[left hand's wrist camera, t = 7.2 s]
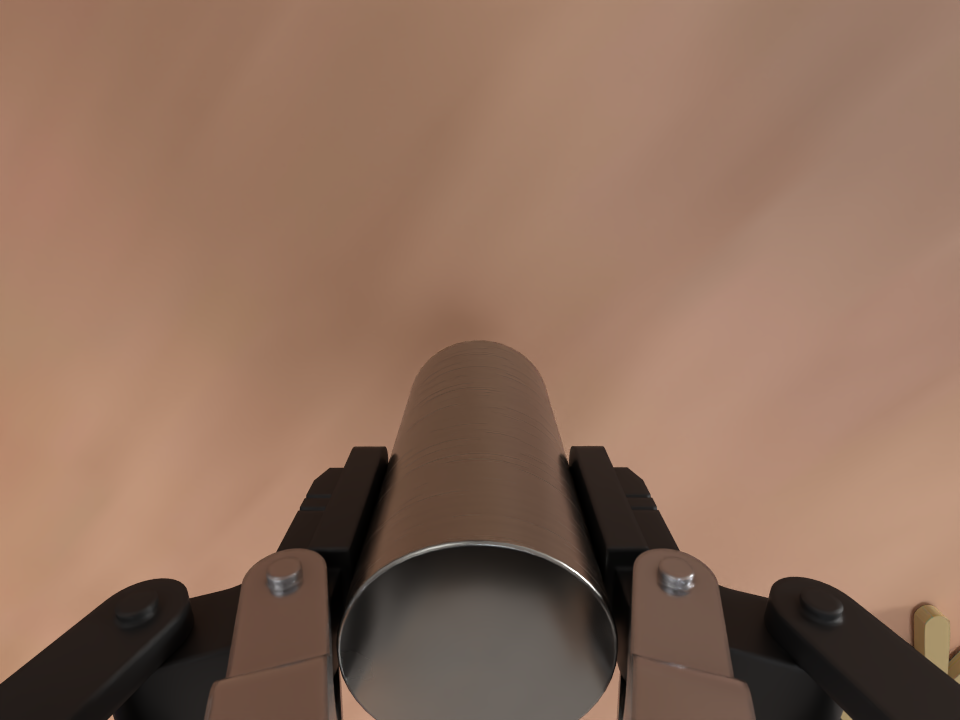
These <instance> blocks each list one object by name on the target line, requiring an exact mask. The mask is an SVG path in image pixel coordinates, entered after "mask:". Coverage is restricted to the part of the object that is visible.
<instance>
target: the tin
mask: <svg viewBox="0 0 960 720" xmlns="http://www.w3.org/2000/svg"><path fill="white" fill-rule="evenodd" d="M336 649H337V658H338V664H339V667H340V670H341V674H342V677H343V679H344V681H345V683H346V685H347V687H348V689H349V691H350V692H351V694H352V695H353V696H354V698H355V699H356V701H357V702H358V703H359V704H360V705H361V706H362V707H363V709H364V710H365V711H366V712H367V713H369V714H370V715H371V716H372V717H373V718H374V719H376V720H579V719H580V718H582V717H583V716H584V715H585V714H587V713H588V712H589V711H590V709H591V708H592V707H593V706H594V705H595V704H596V703H597V702H598V701H599V699H600V698H601V696H602V695H603V693H604V692H605V691H606V689H607V687H608V685H609V683H610V681H611V679H612V676H613V673H614V669H615V666H616V662H617V655H618V633H617V628H616V624H615V620H614V616H613V613H612V609H611V606H610V603H609V599H608V596H607V593H606V589H605V586H604V583H603V579H602V576H601V572H600V569H599V566H598V562H597V559H596V556H595V552H594V549H593V545H592V542H591V539H590V535H589V532H588V529H587V525H586V522H585V518H584V515H583V512H582V508H581V505H580V502H579V498H578V495H577V491H576V488H575V485H574V481H573V478H572V475H571V471H570V468H569V464H568V461H567V458H566V454H565V451H564V448H563V444H562V441H561V437H560V434H559V431H558V427H557V424H556V421H555V417H554V414H553V411H552V407H551V404H550V400H549V397H548V394H547V390H546V387H545V384H544V382H543V379H542V377H541V375H540V373H539V372H538V370H537V369H536V368H535V366H534V365H533V364H532V363H531V362H530V361H529V360H528V359H527V358H526V357H525V356H524V355H522V354H521V353H520V352H518V351H516V350H514V349H513V348H511V347H508V346H506V345H503V344H500V343H496V342H491V341H466V342H462V343H458V344H455V345H452V346H449V347H447V348H445V349H443V350H441V351H440V352H438V353H437V354H435V355H434V356H433V357H432V358H431V359H429V360H428V361H427V362H426V363H425V365H424V366H423V367H422V368H421V370H420V371H419V373H418V375H417V376H416V378H415V381H414V383H413V386H412V389H411V392H410V396H409V399H408V402H407V405H406V409H405V412H404V415H403V418H402V421H401V425H400V428H399V431H398V434H397V438H396V441H395V444H394V447H393V450H392V454H391V457H390V460H389V463H388V467H387V470H386V473H385V476H384V479H383V483H382V486H381V489H380V492H379V495H378V499H377V502H376V505H375V508H374V512H373V515H372V518H371V521H370V524H369V528H368V531H367V534H366V537H365V541H364V544H363V547H362V550H361V553H360V557H359V560H358V563H357V566H356V570H355V573H354V576H353V579H352V582H351V586H350V589H349V592H348V595H347V598H346V602H345V605H344V608H343V611H342V615H341V618H340V622H339V626H338V630H337V640H336Z"/></svg>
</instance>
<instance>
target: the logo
mask: <svg viewBox="0 0 960 720" xmlns="http://www.w3.org/2000/svg"><path fill="white" fill-rule="evenodd" d="M949 647H950V622H949V620H948V619H947V618H946V617H945V616H944V615H943V614H942V613H941V612H940V611H939V610H938V609H936V608H935V607H934V606H932V605H924V606H921V607H920V608H919V609H917V610H916V612H915V613H914V648H915V649H916V650H917V651H919V652H920V653H921V654H922V655H924V656H925V657H926V658H927V659H929V660H930V661H931V662H932V663H934V664H935V665H936V666H937V667H939V668H940V669H941V670H942V671H944V672H945V673H946V674H948V675H949V676H950V677H951V678H953V679H954V680H955V681H956V682H958V683H959V684H960V651H959V652H958V653H957V654H956V655H955V656H954V657H953V658H952V659H951V660H950V661H949ZM841 719H842V720H852V719H851V718H850V717H849V716H848V715H847V714H846V712H845V711H844V710H843V713H842V716H841Z"/></svg>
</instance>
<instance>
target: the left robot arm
mask: <svg viewBox="0 0 960 720" xmlns="http://www.w3.org/2000/svg"><path fill="white" fill-rule="evenodd" d="M387 467H388V453H387V448H386V447H353V449H352V451H351V453H350V455H349V457H348V460H347V462H346V464H345V466H344V468H329V469H328V470H327V471H325V472H324V473H323V474H322V475H320V476H319V477H318V478H317V479H315V480H314V482H313V484H312V486H311V487H310V489H309V491H308V493H307V495H306V498H305V499H304V501H303V503H302V504H301V506H300V511H298V512H297V514H296V516H295V518H294V520H293V521H292V523H291V525H290V527H289V529H288V531H287V533H286V535H285V537H284V539H283V540H282V542H281V544H280V546H279V548H278V550H277V552H276V553H273V554H271V555H269V556H267V557H265V558H263V559H262V560H260V561H259V562H257V563H256V564H255V565H254V566H253V567H252V568H251V569H250V570H249V571H248V572H247V573H246V575H245V577H244V579H243V582H242V584H240V585H238V586H235V587H233V588H230V589H226V590H223V591H219V592H215V593H210V594H206V595H202V596H198V597H193V598H189V595H188V591H187V588H186V587H185V586H184V584H182V583H181V582H179V581H177V580H173V579H165V578H160V579H152V580H147V581H143V582H140V583H137V584H134V585H132V586H129V587H127V588H125V589H123V590H121V591H119V592H118V593H116V594H114V595H113V596H111V597H110V598H109V599H107V600H106V601H105V602H103V603H102V604H101V605H99V606H98V607H97V608H96V609H94V610H93V611H92V612H91V613H89V614H88V615H87V616H86V617H84V618H83V619H82V620H81V621H79V622H78V623H77V624H76V625H74V626H73V627H72V628H70V629H69V630H68V631H67V632H65V633H64V634H63V635H62V636H60V637H59V638H58V639H57V640H55V641H54V642H53V643H52V644H50V645H49V646H48V647H47V648H45V649H44V650H43V651H41V652H40V653H39V654H38V655H36V656H35V657H34V658H33V659H31V660H30V661H29V662H28V663H26V664H25V665H24V666H23V667H21V668H20V669H19V670H18V671H16V672H15V673H14V674H12V675H11V676H10V677H9V678H7V679H6V680H5V681H4V682H2V683H1V684H0V720H108V719H109V718H110V717H111V716H112V715H113V717H114V720H343V706H342V688H341V677H340V669H339V664H338V658H337V649H336V640H337V630H338V626H339V622H340V618H341V615H342V611H343V608H344V605H345V602H346V598H347V595H348V592H349V589H350V586H351V582H352V579H353V576H354V573H355V570H356V566H357V563H358V560H359V557H360V553H361V550H362V547H363V544H364V541H365V537H366V534H367V531H368V528H369V524H370V521H371V518H372V515H373V512H374V508H375V505H376V502H377V499H378V495H379V492H380V489H381V486H382V483H383V479H384V476H385V473H386V470H387ZM569 468H570V471H571V475H572V478H573V481H574V485H575V488H576V491H577V495H578V498H579V502H580V505H581V508H582V512H583V515H584V518H585V522H586V525H587V529H588V532H589V535H590V539H591V542H592V545H593V549H594V552H595V556H596V559H597V562H598V566H599V569H600V572H601V576H602V579H603V583H604V586H605V589H606V593H607V596H608V599H609V603H610V606H611V609H612V613H613V616H614V620H615V624H616V628H617V633H618V655H617V663H618V667H619V670H620V677H619V688H618V706H617V720H842V719H841V716H842V713H843V710H844V711H845V712H846V714H847V715H848V716H849V717H850V718H851V719H852V720H960V684H959V683H958V682H956V681H955V680H954V679H953V678H951V677H950V676H949V675H948V674H946V673H945V672H944V671H942V670H941V669H940V668H939V667H937V666H936V665H935V664H934V663H932V662H931V661H930V660H929V659H927V658H926V657H925V656H924V655H922V654H921V653H920V652H919V651H917V650H916V649H915V648H913V647H912V646H911V645H910V644H908V643H907V642H906V641H905V640H903V639H902V638H901V637H900V636H898V635H897V634H896V633H895V632H893V631H892V630H891V629H890V628H888V627H887V626H886V625H884V624H883V623H882V622H881V621H879V620H878V619H877V618H876V617H874V616H873V615H872V614H871V613H869V612H868V611H867V610H866V609H864V608H863V607H862V606H860V605H859V604H858V603H857V602H855V601H854V600H853V599H852V598H850V597H849V596H847V595H846V594H845V593H843V592H841V591H840V590H838V589H836V588H834V587H832V586H830V585H828V584H825V583H823V582H820V581H817V580H813V579H809V578H804V577H787V578H783V579H780V580H778V581H777V582H775V583H774V584H773V586H772V587H771V590H770V594H769V598H766V597H762V596H757V595H753V594H749V593H745V592H741V591H736V590H732V589H729V588H725V587H723V586H720V585H718V582H717V579H716V577H715V575H714V573H713V572H712V571H711V570H710V569H709V568H708V567H707V566H706V565H705V564H704V563H703V562H701V561H700V560H698V559H697V558H695V557H693V556H691V555H689V554H687V553H684V552H681V551H680V550H679V549H678V547H677V545H676V543H675V541H674V539H673V537H672V535H671V533H670V531H669V529H668V527H667V525H666V524H665V522H664V520H663V518H662V516H661V514H660V512H659V510H657V506H656V504H655V502H654V500H653V499H652V498H651V495H650V493H649V491H648V489H647V487H646V485H645V483H644V481H643V480H642V479H641V478H640V477H638V476H637V475H636V474H635V473H634V472H632V471H631V470H630V469H629V468H627V467H613V466H612V464H611V461H610V459H609V457H608V455H607V452H606V450H605V448H604V447H603V446H572V447H571V449H570V455H569Z"/></svg>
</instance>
